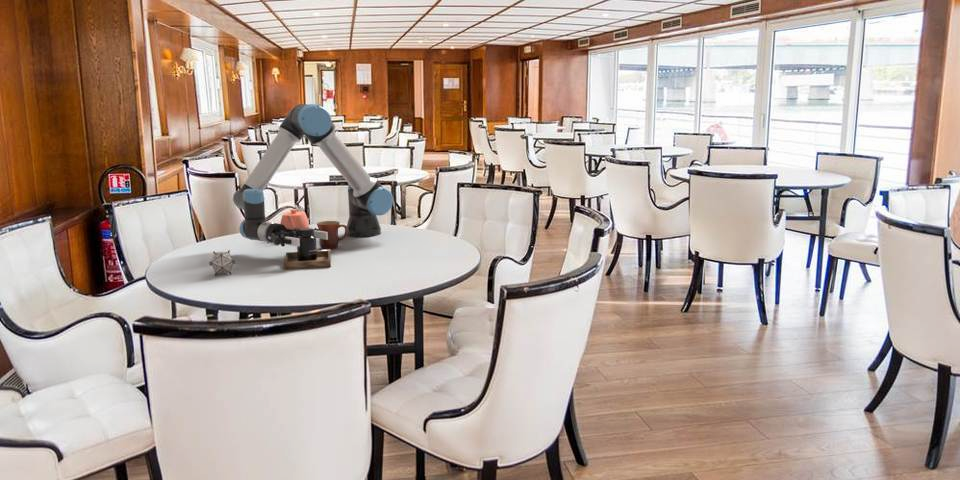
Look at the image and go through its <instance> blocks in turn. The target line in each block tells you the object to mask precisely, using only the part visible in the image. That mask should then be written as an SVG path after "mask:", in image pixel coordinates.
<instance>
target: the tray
mask: <svg viewBox="0 0 960 480" xmlns="http://www.w3.org/2000/svg"><path fill="white" fill-rule="evenodd" d="M331 252H332V251H331ZM331 252H330V250H329V251H317V260H315V261H298V255H297V251H291V252H288V251H287V252H285V257H284V261H283V270H301V269H302V270H304V269H317V268H319V269H320V268H322V269H323V268H331V267H332V266H331V264H332V261H331V260H332V256H331Z"/></svg>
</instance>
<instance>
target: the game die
mask: <svg viewBox="0 0 960 480" xmlns="http://www.w3.org/2000/svg"><path fill="white" fill-rule="evenodd" d="M212 252H213V256H212V259H211V260H210V261H209V262H208V264H209V266H212V268H213V270H214V272H215V274H214V276H217V274H228V273H229V274H230V275H232V271H231V270H232V268H233V267H234V266H233V265H234V264H236V260H234V259H233V258H232V256H231V254H230V252H231V251H230V250H227V251H226V252H224V251H223V252H216V251H215V250H214V251H212Z"/></svg>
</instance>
